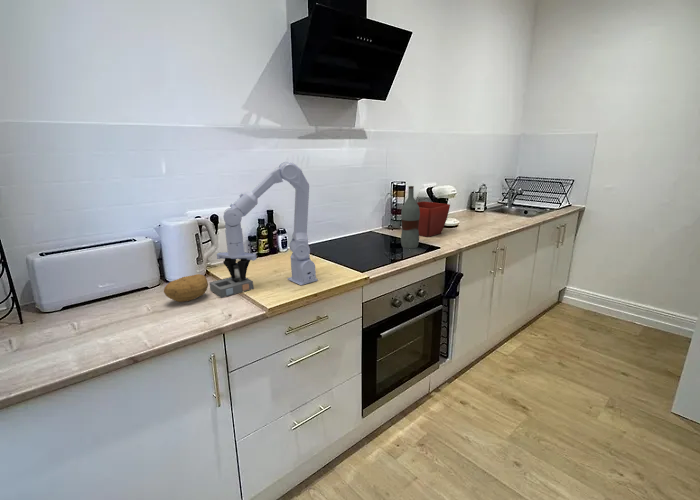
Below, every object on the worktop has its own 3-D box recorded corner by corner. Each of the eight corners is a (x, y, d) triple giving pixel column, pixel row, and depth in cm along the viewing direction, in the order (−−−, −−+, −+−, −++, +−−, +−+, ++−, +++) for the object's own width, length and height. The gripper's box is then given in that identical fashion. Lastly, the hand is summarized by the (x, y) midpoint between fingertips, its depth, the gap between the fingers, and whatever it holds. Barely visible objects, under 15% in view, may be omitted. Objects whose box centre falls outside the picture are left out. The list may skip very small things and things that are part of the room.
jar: (246, 281, 136) (243, 263, 134) (237, 284, 134) (235, 266, 132) (241, 279, 139) (239, 262, 137) (233, 282, 136) (230, 264, 135)
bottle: (419, 249, 183) (421, 187, 175) (400, 248, 184) (401, 187, 176) (418, 244, 192) (420, 185, 184) (400, 244, 193) (401, 185, 185)
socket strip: (254, 289, 135) (253, 281, 134) (221, 298, 127) (220, 289, 127) (241, 282, 142) (240, 274, 142) (210, 290, 135) (209, 282, 134)
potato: (161, 302, 125) (157, 279, 123) (203, 290, 134) (200, 269, 132) (172, 310, 118) (168, 287, 116) (214, 298, 128) (211, 276, 125)
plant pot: (429, 239, 201) (430, 208, 196) (402, 234, 215) (402, 205, 210) (449, 233, 213) (451, 204, 209) (422, 228, 227) (423, 201, 222)
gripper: (258, 239, 135) (262, 275, 138) (222, 238, 138) (226, 273, 141) (249, 244, 128) (253, 282, 131) (211, 243, 131) (216, 279, 135)
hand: (238, 278), depth 136 cm, fingers closed on jar, 3 cm apart
